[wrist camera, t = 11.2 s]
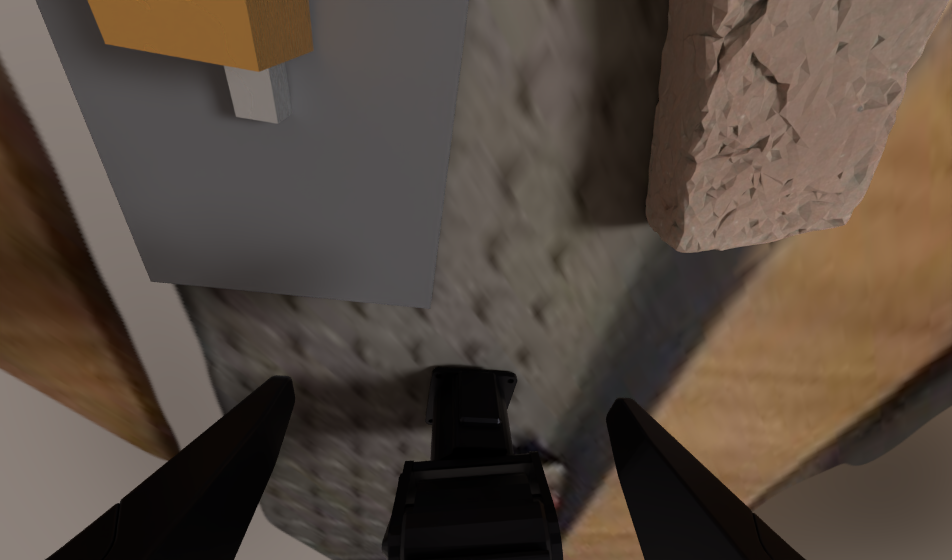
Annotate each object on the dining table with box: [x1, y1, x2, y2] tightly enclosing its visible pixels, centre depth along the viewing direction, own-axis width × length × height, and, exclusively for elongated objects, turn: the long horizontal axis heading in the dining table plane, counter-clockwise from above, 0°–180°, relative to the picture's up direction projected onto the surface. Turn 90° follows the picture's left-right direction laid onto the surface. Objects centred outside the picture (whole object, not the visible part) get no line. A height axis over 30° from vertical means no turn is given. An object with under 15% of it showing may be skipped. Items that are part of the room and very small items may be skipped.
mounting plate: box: [36, 0, 469, 309], centre depth 14 cm, size 26×16×1 cm, turn 170°
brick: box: [646, 0, 949, 253], centre depth 14 cm, size 17×8×5 cm, turn 9°
